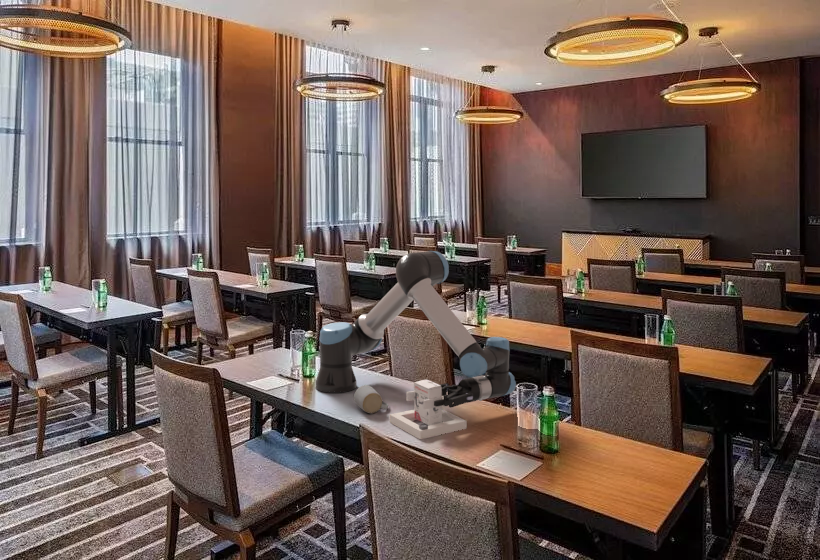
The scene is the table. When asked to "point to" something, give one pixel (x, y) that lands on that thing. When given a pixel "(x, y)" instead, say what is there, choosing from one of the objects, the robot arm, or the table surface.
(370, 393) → the ceramic mug
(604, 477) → the table surface
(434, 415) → the ink box
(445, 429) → the socket plate
